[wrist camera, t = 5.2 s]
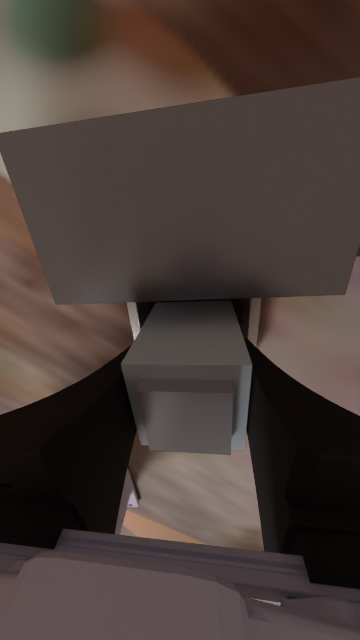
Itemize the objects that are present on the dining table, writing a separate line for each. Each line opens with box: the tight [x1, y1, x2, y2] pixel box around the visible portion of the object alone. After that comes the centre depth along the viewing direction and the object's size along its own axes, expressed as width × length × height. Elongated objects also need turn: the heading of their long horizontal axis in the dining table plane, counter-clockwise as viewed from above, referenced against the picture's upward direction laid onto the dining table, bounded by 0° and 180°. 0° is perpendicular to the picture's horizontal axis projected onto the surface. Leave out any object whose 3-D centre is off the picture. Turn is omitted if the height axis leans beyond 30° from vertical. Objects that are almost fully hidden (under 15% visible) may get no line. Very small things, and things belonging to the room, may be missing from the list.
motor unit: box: [0, 77, 360, 347], centre depth 11 cm, size 16×13×4 cm
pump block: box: [121, 300, 252, 455], centre depth 10 cm, size 4×4×7 cm
